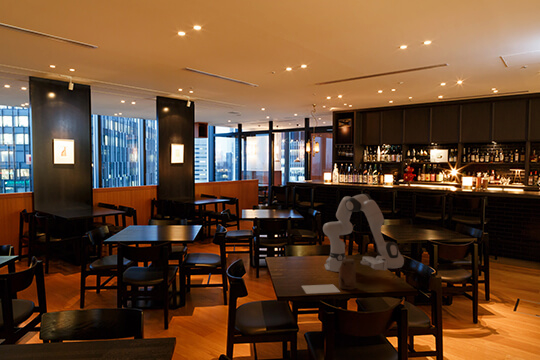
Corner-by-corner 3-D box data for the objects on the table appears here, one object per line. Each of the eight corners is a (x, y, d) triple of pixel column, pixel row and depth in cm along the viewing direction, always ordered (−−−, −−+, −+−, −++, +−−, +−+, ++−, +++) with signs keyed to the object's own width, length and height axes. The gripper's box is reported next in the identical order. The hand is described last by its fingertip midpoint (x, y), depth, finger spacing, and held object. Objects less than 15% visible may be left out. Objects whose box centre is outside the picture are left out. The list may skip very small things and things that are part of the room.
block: (354, 286, 240) (354, 257, 239) (356, 290, 232) (356, 260, 232) (338, 286, 241) (338, 257, 240) (339, 290, 233) (340, 260, 232)
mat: (301, 286, 240) (301, 285, 240) (333, 284, 243) (333, 284, 243) (306, 293, 225) (306, 293, 225) (340, 292, 229) (340, 291, 229)
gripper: (374, 254, 249) (355, 254, 247) (387, 261, 229) (367, 262, 227) (373, 262, 250) (355, 263, 248) (387, 271, 229) (367, 271, 227)
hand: (361, 262), depth 237 cm, fingers closed
